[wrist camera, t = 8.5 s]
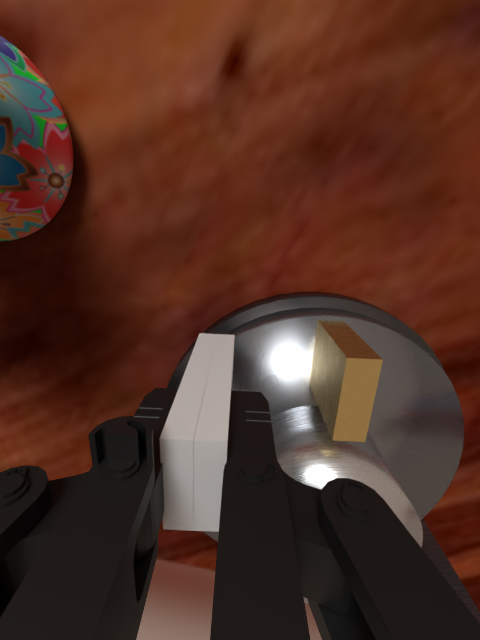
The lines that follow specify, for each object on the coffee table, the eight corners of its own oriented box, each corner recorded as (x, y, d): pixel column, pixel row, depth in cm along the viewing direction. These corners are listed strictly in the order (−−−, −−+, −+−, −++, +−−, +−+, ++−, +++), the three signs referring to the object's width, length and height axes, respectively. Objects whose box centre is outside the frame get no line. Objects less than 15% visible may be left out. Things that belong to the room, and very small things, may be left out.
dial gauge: (338, 531, 22) (456, 914, 10) (349, 474, 20) (509, 848, 8) (424, 534, 22) (648, 919, 10) (443, 478, 20) (738, 855, 8)
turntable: (170, 534, 20) (145, 645, 15) (162, 299, 15) (121, 342, 10) (410, 543, 20) (469, 656, 15) (481, 315, 15) (606, 364, 10)
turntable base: (167, 521, 21) (163, 538, 20) (159, 284, 16) (152, 289, 15) (406, 530, 22) (415, 547, 21) (475, 299, 16) (492, 305, 15)
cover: (238, 506, 17) (237, 601, 13) (250, 400, 15) (254, 472, 11) (359, 514, 17) (398, 611, 13) (388, 411, 15) (447, 486, 11)
